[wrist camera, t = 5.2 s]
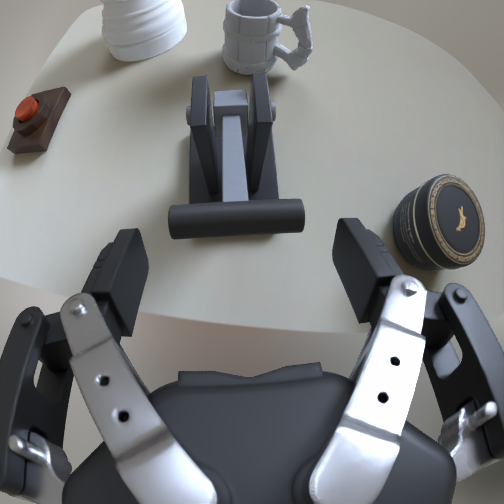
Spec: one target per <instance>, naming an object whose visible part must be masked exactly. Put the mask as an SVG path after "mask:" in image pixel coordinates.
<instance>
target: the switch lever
mask: <svg viewBox="0 0 504 504" xmlns="http://www.w3.org/2000/svg"><path fill="white" fill-rule="evenodd" d="M213 111H214V125H215V136H216V137H222V202H212V203H197V204H184V205H172V206H170V208H169V212H168V227H169V232H170V236H171V238H172V239H189V238H205V237H222V236H239V235H258V234H277V233H298V232H302V231H303V229H304V225H305V211H304V205H303V202H302V200H301V199H271V200H249V199H248V190H247V180H246V171H245V161H244V151H243V142H242V136H244V135H248V101H247V95H246V90H231V91H215V93H214V104H213Z"/></svg>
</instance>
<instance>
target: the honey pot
mask: <svg viewBox="0 0 504 504" xmlns="http://www.w3.org/2000/svg"><path fill="white" fill-rule="evenodd" d="M101 1H102V2H103V3H104V9H103V11H102V17H103V20H102V23H103V26H102V34H103V36H104V39H105V40H106V43H107V45H108V47H109V49H110V51H111V53H112V55H113V56H114V58H116V59H118V60H120V61H126V62H131V61H140V60H145V59H148V58H151V57H154V56H157V55H159V54H161V53H163V52H165V51H168V50H169V49H171V48H172V47H174V46H175V45H177V44H178V43H179V42H180V41H181V40H182V39H183V37H184V35H185V34H186V29H187V26H186V20H185V14H184V10H183V5H182V2H181V0H101Z"/></svg>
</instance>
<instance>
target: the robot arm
mask: <svg viewBox="0 0 504 504" xmlns="http://www.w3.org/2000/svg"><path fill="white" fill-rule="evenodd" d="M332 258H333V263H334V265H335V267H336V270H337V272H338V274H339V276H340V279H341V281H342V283H343V286H344V288H345V290H346V293H347V295H348V297H349V300H350V302H351V305H352V307H353V309H354V312H355V314H356V317H357V319H358V322H359V324H360V323H366V322H370V324H371V328H370V330H369V333H368V335H367V338H366V340H365V343H364V345H363V348H362V350H361V353H360V355H359V357H358V360H357V362H356V364H355V367H354V369H353V371H352V373H351V375H350V377H349V378H346V377H344V376H341V375H338V374H335V373H330V372H325V371H324V372H323V371H322V367H321V363H320V362H316V363H308V364H301V365H292V366H285V367H282V368H279V369H277V370H273V371H270V372H267V373H264V374H261V375H258V376H254V377H243V376H237V375H232V374H226V373H221V372H216V371H179V373H178V381H175V382H172V383H169V384H166V385H164V386H162V387H160V388H158V389H156V390H155V391H153V392H152V393H150V392H149V390H148V389H147V387H146V386H145V385H144V383H143V382H142V380H141V379H140V377H139V375H138V374H137V372H136V370H135V369H134V367H133V366H132V364H131V362H130V360H129V359H128V357H127V355H126V354H125V352H124V350H123V348H122V347H121V345H120V340H121V336H128V337H131V336H132V333H133V329H134V324H135V320H136V316H137V312H138V308H139V305H140V301H141V297H142V293H143V290H144V286H145V282H146V279H147V275H148V270H149V264H148V258H147V254H146V251H145V247H144V244H143V240H142V237H141V233H140V231H139V229H138V228H134V229H122V230H120V231H119V232H118V234H117V236H116V238H115V240H114V242H112V243H109V244H108V245H107V246H106V247H105V248H104V249H103V250H102V251H101V252H100V254H99V256H98V258H97V261H96V262H95V264H94V266H93V269H92V270H91V272H90V274H89V276H88V278H87V281H86V283H85V285H84V287H83V289H82V291H81V293H79V294H76V295H73V296H72V297H70V298H69V299H68V300H67V301H66V302H65V303H64V304H63V306H62V308H61V311H60V312H57V313H53V314H49V315H46V316H45V315H44V314H43V312H42V311H41V310H40V308H38V307H34V306H33V307H29V308H27V309H25V310H24V311H22V312H21V313H20V314H19V316H18V317H17V318H16V321H15V323H14V325H13V327H12V330H11V332H10V335H9V337H8V340H7V342H6V345H5V347H4V350H3V353H2V356H1V359H0V491H2V492H5V493H7V494H8V495H10V496H13V497H17V498H20V499H23V500H27V501H30V502H34V503H36V504H451V503H452V498H453V494H454V490H455V486H456V483H458V482H460V481H462V480H463V479H465V478H467V477H469V476H470V475H472V474H474V473H475V472H477V471H478V470H480V469H482V468H484V467H486V466H488V465H491V464H493V463H495V462H497V461H499V460H501V459H503V458H504V352H503V350H502V348H501V346H500V344H499V342H498V340H497V338H496V336H495V334H494V332H493V330H492V328H491V327H490V325H489V323H488V321H487V319H486V318H485V316H484V314H483V312H482V311H481V309H480V307H479V306H478V304H477V302H476V301H475V299H474V297H473V296H472V294H471V293H470V292H469V290H467V289H466V288H465V287H464V286H462V285H460V284H457V283H449V284H448V285H446V287H445V289H444V290H443V292H442V293H439V292H432V291H426V289H425V287H424V285H423V284H422V283H421V282H420V281H419V280H418V279H416V278H414V277H412V276H409V275H404V274H403V272H402V271H401V269H400V267H399V266H398V264H397V263H396V261H395V260H394V258H393V257H392V255H391V254H390V253H389V251H388V249H387V248H386V247H385V246H384V244H383V242H382V241H381V239H380V238H379V237H378V236H377V235H376V234H374V233H373V232H372V231H370V230H366V229H365V227H364V226H363V224H362V223H361V222H360V220H359V219H358V218H340V219H339V220H338V223H337V229H336V234H335V239H334V244H333V250H332ZM453 335H455V336H456V339H457V341H458V343H459V345H460V347H461V350H462V354H463V357H462V361H461V363H460V361H459V359H458V356H457V354H456V352H455V350H454V348H453V345H452V343H451V341H450V339H451V338H452V336H453ZM422 359H423V362H424V364H425V367H426V370H427V372H428V375H429V378H430V381H431V384H432V387H433V389H434V392H435V396H436V398H437V402H438V405H439V408H440V411H441V415H442V418H443V422H444V423H443V426H442V429H441V434H440V436H439V437H438V443H437V442H436V441H435V440H433V439H432V438H430V437H429V436H427V435H426V434H424V433H423V432H422V431H420V430H419V429H418V428H416V427H415V426H413V425H412V424H410V423H409V422H408V421H406V420H405V419H406V416H407V413H408V410H409V406H410V403H411V400H412V396H413V392H414V389H415V385H416V382H417V378H418V374H419V370H420V365H421V361H422ZM38 360H40V361H41V362H42V363H43V364H42V368H41V372H40V375H39V379H38V383H37V387H36V388H35V386H34V380H33V379H34V374H35V370H36V367H37V363H38ZM74 376H75V379H76V381H77V384H78V386H79V389H80V391H81V394H82V396H83V398H84V400H85V403H86V405H87V407H88V409H89V412H90V414H91V416H92V418H93V420H94V422H95V424H96V426H97V428H98V430H99V432H100V434H101V435H102V437H103V440H104V441H103V442H102V443H101V444H100V445H99V446H98V448H96V449H95V450H94V451H93V452H92V453H91V454H90V455H89V456H88V457H87V458H86V459H85V461H84V462H82V463H81V464H80V465H79V467H77V469H76V470H75V471H74V472H72V474H70V473H71V471H72V466H71V464H70V463H69V462H68V458H67V456H66V454H65V452H64V451H63V438H64V430H65V422H66V415H67V409H68V403H69V396H70V392H71V387H72V382H73V377H74Z"/></svg>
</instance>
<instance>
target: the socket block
mask: <svg viewBox="0 0 504 504" xmlns="http://www.w3.org/2000/svg"><path fill="white" fill-rule="evenodd" d="M70 95H71V93H70V92H69V91H68V89H67V88H66V87H61V88H56V89H52V90H47V91H43V92H39V93H36V94H32V95H31V97H33V98H34V99H35V100H36V101H37V103H38V108H37V110H36V112H35V114H34V115H33V116H32V117H31V118H30V119H29V120H28V121H26V122H24V123H23V122H21V121H20V120H19V119H18V118H17V117H16V116H15V117H14V120H13V128H14V129H15V130H14V133H13V135H12V137H11V140H10V142H9V145H8V147H7V149H8V150H10V151H11V152H13V153H14V154H18V153H27V152H37V151H47V148H48V145H49V143H50V140H51V138H52V135H53V133H54V130H55V128H56V126H57V123H58V121H59V119H60V116H61V114H62V112H63V110H64V108H65V106H66V104H67V102H68V99H69V97H70Z"/></svg>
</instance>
